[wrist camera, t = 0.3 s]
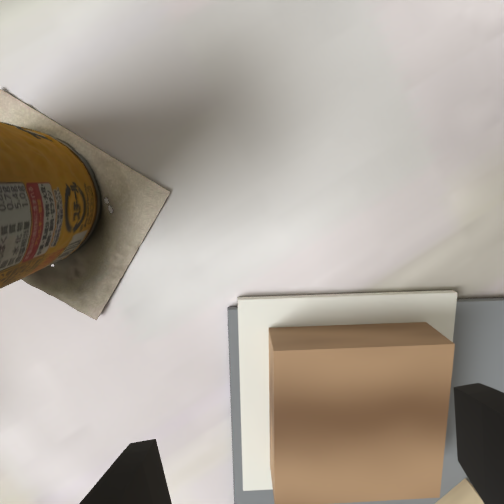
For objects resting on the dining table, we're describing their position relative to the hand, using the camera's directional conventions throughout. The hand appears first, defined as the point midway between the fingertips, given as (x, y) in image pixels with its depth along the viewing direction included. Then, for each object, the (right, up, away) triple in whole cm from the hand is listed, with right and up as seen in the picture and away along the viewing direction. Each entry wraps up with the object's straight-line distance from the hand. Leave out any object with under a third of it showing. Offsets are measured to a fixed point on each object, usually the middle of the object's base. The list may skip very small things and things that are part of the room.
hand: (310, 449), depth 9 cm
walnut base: (+3, -3, +10) cm, 11 cm away
